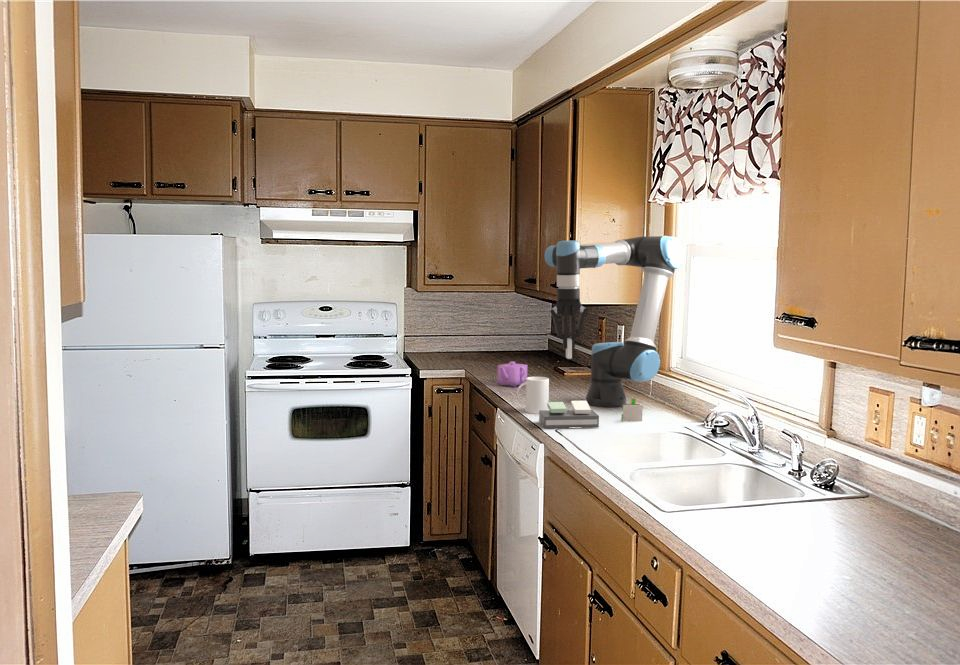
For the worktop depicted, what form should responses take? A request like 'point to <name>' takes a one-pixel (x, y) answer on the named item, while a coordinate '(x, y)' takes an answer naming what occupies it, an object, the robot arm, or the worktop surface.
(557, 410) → the rocker green
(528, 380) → the mug
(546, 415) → the switch panel
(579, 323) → the robot arm
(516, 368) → the teapot
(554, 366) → the worktop surface
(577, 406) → the rocker cream
